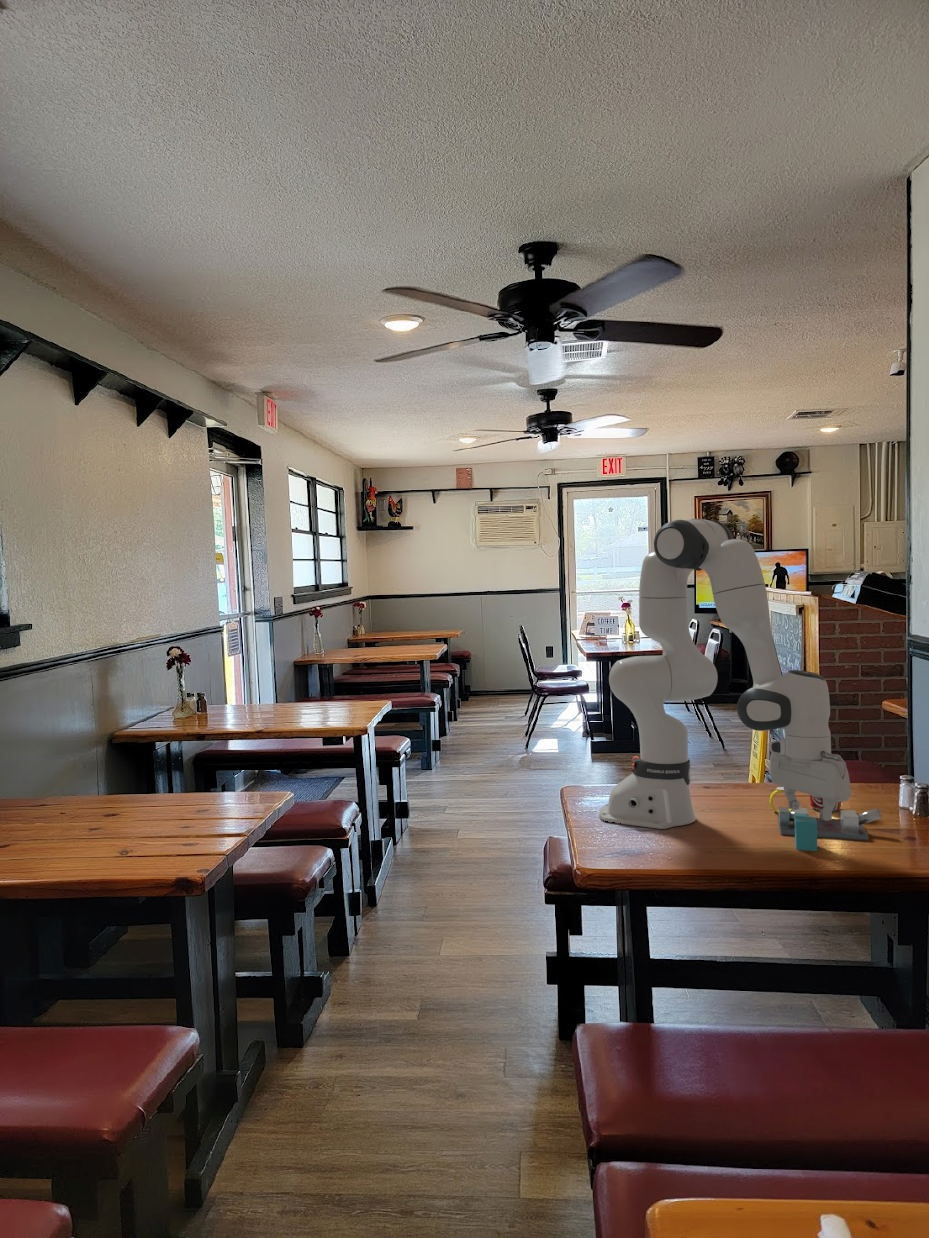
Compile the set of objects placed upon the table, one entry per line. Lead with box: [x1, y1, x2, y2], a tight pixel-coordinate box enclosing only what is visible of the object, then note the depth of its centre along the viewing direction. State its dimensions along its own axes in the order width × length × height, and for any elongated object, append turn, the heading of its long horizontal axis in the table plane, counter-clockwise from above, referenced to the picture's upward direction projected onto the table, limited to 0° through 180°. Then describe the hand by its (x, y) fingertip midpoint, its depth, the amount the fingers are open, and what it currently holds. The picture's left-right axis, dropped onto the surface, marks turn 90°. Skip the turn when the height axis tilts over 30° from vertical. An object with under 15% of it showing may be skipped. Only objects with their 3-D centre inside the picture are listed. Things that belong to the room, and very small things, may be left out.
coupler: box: [794, 816, 818, 852], centre depth 168 cm, size 4×4×6 cm
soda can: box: [809, 794, 842, 813], centre depth 195 cm, size 7×7×12 cm
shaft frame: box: [777, 806, 883, 842], centre depth 178 cm, size 21×11×6 cm, turn 72°
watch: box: [768, 786, 793, 814], centre depth 194 cm, size 6×3×6 cm, turn 85°
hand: (809, 814), depth 167 cm, fingers open, 8 cm apart
